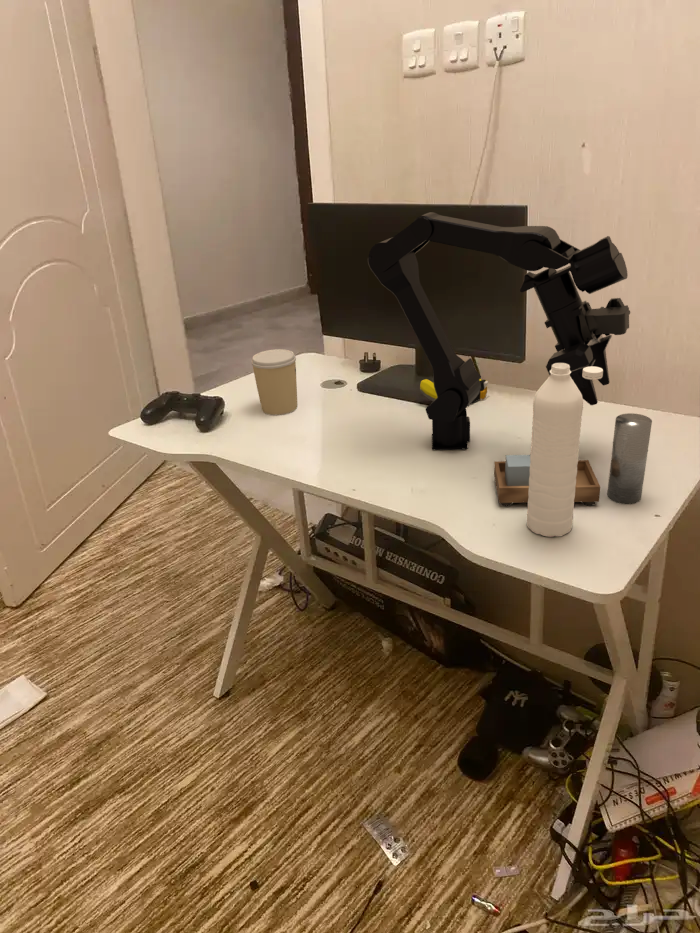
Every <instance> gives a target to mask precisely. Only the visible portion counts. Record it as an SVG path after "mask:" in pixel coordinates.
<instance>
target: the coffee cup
mask: <svg viewBox="0 0 700 933" xmlns="http://www.w3.org/2000/svg"><path fill="white" fill-rule="evenodd" d="M296 361H297V357H296V355H295V353H294V352H293V351H292V350H288V349H284V348H283V349H282V348H281V349H279V348H277V349H275V348H274V349H267V350H263V351H259V352H258V353H256V354H254V355H253V356H252V359H251V366H252V370H253V374H254V380H255V383H256V389H257V394H258V398H259V402H260V404H259V405H260V407H261V411H262V413H263V414H265V415H269V416H273V417H275V416H276V417H277V416H285V415H289V414H291V413H293V412H295V411H296V410H297V408H298V386H297V365H296Z"/></svg>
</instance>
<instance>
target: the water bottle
mask: <svg viewBox="0 0 700 933" xmlns="http://www.w3.org/2000/svg"><path fill="white" fill-rule="evenodd" d="M569 368H570V366H569V365H568V364H566V363H555V364H553V365H552V367H551V370H550V373H551V375H549V376H548V377H547V379H546V380H544V382H543V383H542V385H541V386H540V387H539V388H538V390H536V392H535V394H534V398H533V402H532V427H531V444H530V446H531V448H530V454H529V455H530V461H531V463H530V477H529V490H528V496H529V498H528V502H527V513H526V525H527V527H528V529H529V530H530V531H531V532H532V533H534V534H536V535H542V536H543V537H547V538H548V537H549V538H553V537H562V536H564V535H566V534H569V533H570V531H571V530H572V529H573V519H574V508H575V502H574V498H575V486H576V476H577V464H578V460H579V450H580V440H581V429H582V428H581V427H582V416H583V410H584V399H583V397H582V394H581V392H580V391H579V389H578V388H577V386H576V384H575V383H574V381H573V380H572V378H571V377H570V373H571V371H570V369H569ZM586 376H587V377H586ZM600 376H601V377H600ZM602 376H603V369H602V368H600V367H594V366H590V367H585V368H583V373H582V377H583V378H586V379H591V380H593V381H595V380H597V379H600V378H602ZM591 377H592V378H591Z"/></svg>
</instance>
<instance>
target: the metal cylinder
mask: <svg viewBox="0 0 700 933" xmlns="http://www.w3.org/2000/svg"><path fill="white" fill-rule="evenodd" d="M652 424H653V421H652V418H651V417H649V416H647V415H645V414H640V413H639V414H638V413H633V412H632V413H622V414H619V415H617V416H616V417H615V423H614V431H613V432H614V433H613V438H612V439H613V441H612V448H611V456H610V466H609V473H608V474H609V475H608V483H607V490H606V491H607V492H606V496H607V498H608V500H610V501H611V502H613V503H616V504H620V505H635V504H637V503H639V502H641V500H642V494H643V488H644V481H645V473H646V467H647V460H648V459H647V458H648V452H649V445H650V440H651V439H650V438H651V432H652Z"/></svg>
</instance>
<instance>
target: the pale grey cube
mask: <svg viewBox="0 0 700 933" xmlns="http://www.w3.org/2000/svg"><path fill="white" fill-rule="evenodd" d="M505 461H506V462H505V480H506V485H507V486H529V477H530V463H531V461H530V454H506V455H505Z"/></svg>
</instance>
